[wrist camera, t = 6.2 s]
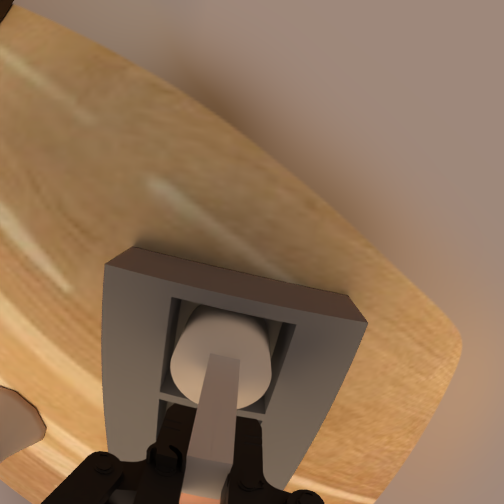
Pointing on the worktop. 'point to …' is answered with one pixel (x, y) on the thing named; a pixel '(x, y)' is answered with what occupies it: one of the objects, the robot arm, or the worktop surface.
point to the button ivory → (223, 352)
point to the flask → (17, 424)
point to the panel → (233, 299)
